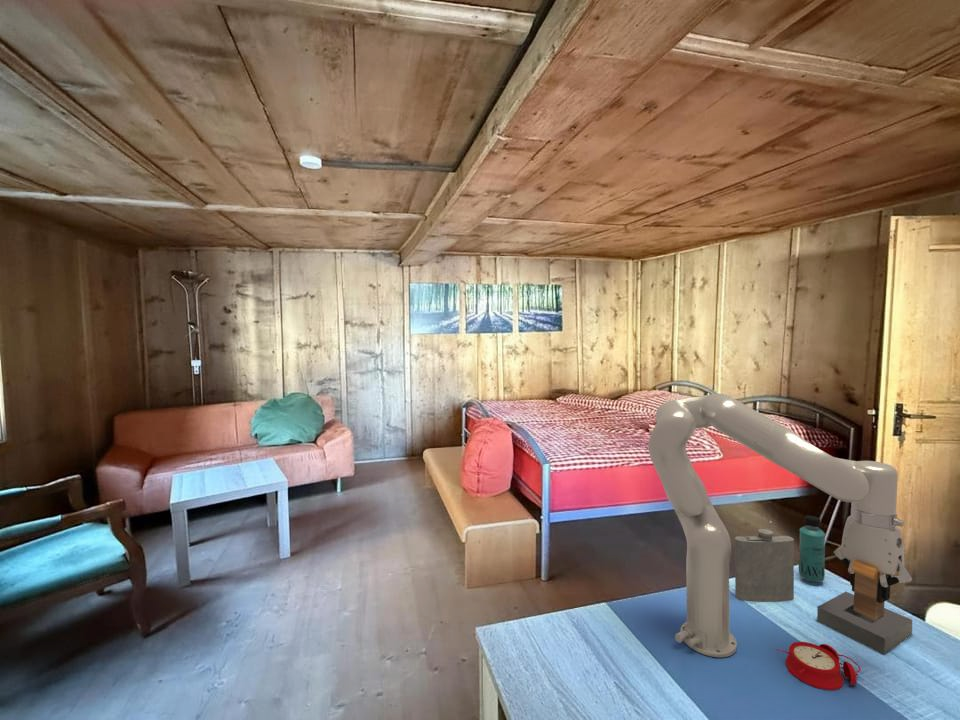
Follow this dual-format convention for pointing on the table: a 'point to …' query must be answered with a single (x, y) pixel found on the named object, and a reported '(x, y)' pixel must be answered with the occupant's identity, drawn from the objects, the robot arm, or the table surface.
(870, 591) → the wooden peg block
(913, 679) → the table surface
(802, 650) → the alarm clock
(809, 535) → the beverage bottle
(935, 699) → the table surface
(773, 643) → the table surface
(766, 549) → the hip flask
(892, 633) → the collar
